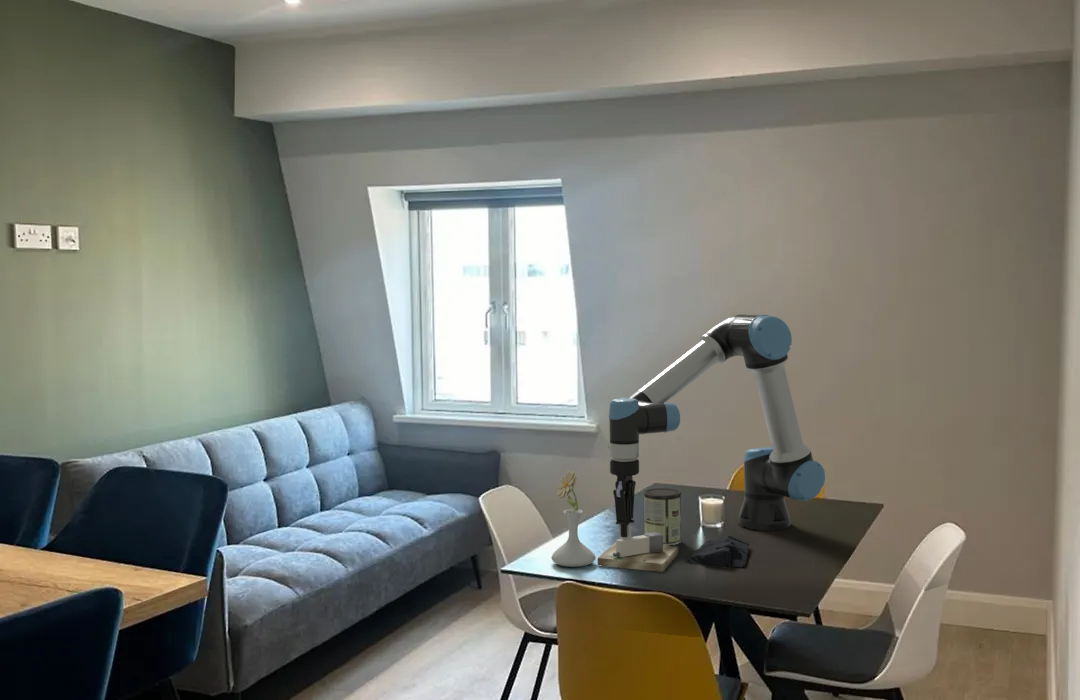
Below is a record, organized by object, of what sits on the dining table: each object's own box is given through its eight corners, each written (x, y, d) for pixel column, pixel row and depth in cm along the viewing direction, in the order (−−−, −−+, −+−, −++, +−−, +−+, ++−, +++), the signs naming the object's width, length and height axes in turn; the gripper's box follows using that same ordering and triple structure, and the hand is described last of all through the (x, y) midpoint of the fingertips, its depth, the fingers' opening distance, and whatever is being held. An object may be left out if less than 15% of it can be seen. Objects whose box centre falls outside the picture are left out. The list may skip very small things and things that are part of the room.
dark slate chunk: (757, 549, 271) (757, 532, 270) (743, 571, 250) (743, 553, 250) (702, 545, 276) (702, 528, 276) (683, 566, 256) (683, 547, 256)
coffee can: (650, 535, 285) (650, 486, 284) (685, 539, 281) (685, 489, 280) (638, 544, 276) (638, 493, 275) (674, 548, 271) (674, 496, 270)
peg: (655, 546, 264) (655, 531, 264) (667, 550, 260) (667, 535, 259) (608, 554, 257) (608, 539, 256) (619, 559, 252) (619, 543, 252)
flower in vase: (551, 558, 263) (550, 464, 261) (595, 558, 262) (594, 464, 261) (550, 572, 250) (549, 473, 248) (596, 572, 249) (595, 473, 247)
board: (677, 554, 265) (677, 546, 265) (661, 572, 248) (661, 564, 248) (616, 548, 271) (616, 541, 271) (596, 566, 254) (596, 558, 254)
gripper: (617, 453, 265) (618, 540, 267) (603, 462, 253) (604, 553, 255) (645, 454, 262) (645, 543, 264) (631, 464, 250) (632, 556, 252)
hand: (625, 548), depth 259 cm, fingers closed
